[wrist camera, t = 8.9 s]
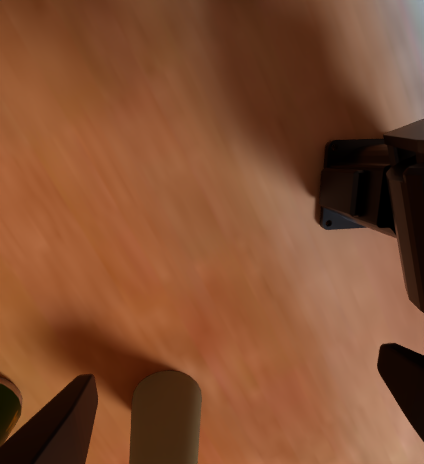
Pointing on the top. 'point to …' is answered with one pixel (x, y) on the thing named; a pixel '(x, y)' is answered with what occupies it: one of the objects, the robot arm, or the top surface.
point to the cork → (165, 420)
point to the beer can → (8, 408)
